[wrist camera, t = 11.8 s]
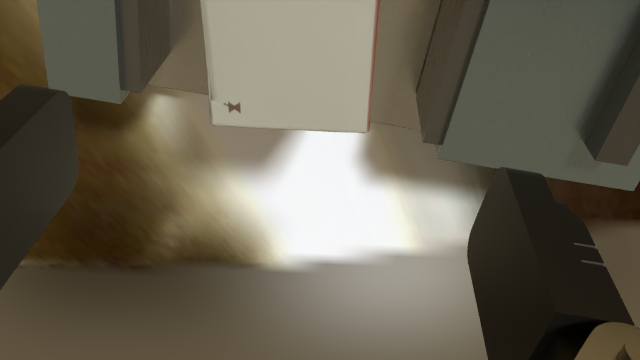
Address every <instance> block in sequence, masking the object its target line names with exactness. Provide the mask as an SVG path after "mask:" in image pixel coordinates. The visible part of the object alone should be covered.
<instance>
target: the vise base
mask: <svg viewBox="0 0 640 360" xmlns="http://www.w3.org/2000/svg"><path fill="white" fill-rule="evenodd" d="M442 1H443V0H380V4H379V17H378V30H377V41H376V52H375V63H374V75H373V86H372V99H371V111H370V122H375V123H381V124H387V125H393V126H399V127H405V128H411V129H417V130H421V126H420V120H419V114H418V107H417V101H416V94H417V91H418V87H419V83H420V80H421V76H422V73H423V69H424V66H425V62H426V58H427V55H428V51H429V48H430V44H431V40H432V37H433V33H434V30H435V26H436V23H437V19H438V15H439V12H440V8H441V5H442ZM37 7H38V14H39V21H40V28H41V36H42V43H43V50H44V57H45V64H46V71H47V78H48V85H49V88H50V89H56V90H62V91H65V92H67V93H68V95H69V96H75V97H81V98H87V99H93V100H99V101H105V102H111V103H117V104H121V103H122V102H123V100H124V99H125V98H126V96H127V95H128V94H129V93H130V91H131V92H137V93H141V92H142V91H143V90H144V88H145V87H146V85H153V86H159V87H165V88H171V89H177V90H183V91H189V92H195V93H201V94H207V95H209V86H208V75H207V62H206V52H205V42H204V32H203V22H202V12H201V2H200V0H37Z"/></svg>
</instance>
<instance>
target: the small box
mask: <svg viewBox="0 0 640 360" xmlns="http://www.w3.org/2000/svg"><path fill="white" fill-rule="evenodd" d="M200 2H201V12H202V22H203V32H204V42H205V52H206V62H207V75H208V86H209V110H210V123H211V125H213V126H233V127H250V128H269V129H289V130H309V131H327V132H358V133H367V132H368V131H369V125H370V111H371V99H372V86H373V75H374V63H375V52H376V41H377V30H378V17H379V4H380V0H200Z"/></svg>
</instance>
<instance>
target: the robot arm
mask: <svg viewBox="0 0 640 360" xmlns="http://www.w3.org/2000/svg"><path fill="white" fill-rule="evenodd" d="M77 175H78V155H77V146H76V137H75V129H74V120H73V111H72V104H71V99H70V97H69V95H68V93H67V92H65V91H62V90H56V89H50V88H44V87H38V86H32V85H27V84H21V85H18V86H17V87H16V88H14V89H13V90H12V91H11V92H10V93H8V94H7V95H6V96H5V97H4V98H3V99H1V100H0V290H1V288H2V287H3V286H4V284H5V283H6V282H7V280H8V279H9V277H10V276H11V275H12V273H13V272H14V271H15V269H16V268H17V267H18V265H19V264H20V262H21V261H22V260H23V258H24V257H25V256H26V254H27V253H28V252H29V250H30V249H31V247H32V246H33V245H34V243H35V242H36V241H37V239H38V238H39V237H40V235H41V234H42V232H43V231H44V230H45V228H46V227H47V226H48V224H49V223H50V222H51V220H52V219H53V217H54V216H55V215H56V213H57V212H58V211H59V209H60V208H61V207H62V205H63V204H64V202H65V201H66V200H67V198H68V197H69V196H70V194H71V193H72V191H73V188H74V186H75V183H76V179H77ZM594 247H595V244H594V242H593V240H592V238H591V235H590V233H589V231H588V229H587V227H586V225H585V224H584V223H583V222H582V221H581V220H580V219H579V218H578V217H577V216H576V215H575V214H574V213H573V212H572V211H571V210H570V209H569V208H568V207H567V206H566V205H565V204H560V203H556V202H555V200H554V198H553V195H552V193H551V191H550V189H549V187H548V184H547V182H546V180H545V178H544V176H543V175H542V174H540V173H535V172H529V171H524V170H518V169H512V168H506V167H500V168H498V169H497V171H496V172H495V174H494V175H493V178H492V180H491V182H490V185H489V187H488V190H487V192H486V195H485V197H484V200H483V202H482V205H481V207H480V209H479V212H478V214H477V217H476V219H475V222H474V224H473V227H472V229H471V232H470V236H469V241H468V251H467V257H468V264H469V269H470V274H471V279H472V284H473V288H474V293H475V298H476V302H477V308H478V313H479V317H480V322H481V327H482V331H483V337H484V341H485V346H486V351H487V356H488V360H640V328H639V327H636V326H635V325H634V323H633V321H632V319H631V317H630V315H629V313H628V311H627V309H626V307H625V305H624V303H623V301H622V299H621V297H620V295H619V292H618V290H617V288H616V286H615V284H614V282H613V280H612V278H611V276H610V274H609V272H608V270H607V268H606V267H604V266H603V263H604V262H603V260H602V258H601V256H600V254H599V252H598V250H597V249H595V248H594Z"/></svg>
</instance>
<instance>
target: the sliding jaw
mask: <svg viewBox="0 0 640 360" xmlns="http://www.w3.org/2000/svg"><path fill="white" fill-rule="evenodd" d="M416 101H417V107H418V114H419V120H420V126H421V132H422V138H423V142H424V143H430V144H435V145H436V150H437V155H438V159H442V160H448V161H454V162H460V163H466V164H472V165H478V166H484V167H490V168H496V169H498V168H500V167H506V168H512V169H518V170H524V171H529V172H535V173H540V174H542V175H543V176H545V177H551V178H557V179H563V180H569V181H575V182H581V183H587V184H593V185H599V186H605V187H611V188H617V189H624V190H630V191H634V189H635V188H636V186H637V184H638V182H639V181H640V0H443V1H442V5H441V8H440V12H439V15H438V19H437V23H436V26H435V30H434V33H433V37H432V40H431V44H430V48H429V51H428V55H427V58H426V62H425V66H424V69H423V73H422V76H421V80H420V83H419V87H418V91H417V94H416Z"/></svg>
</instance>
